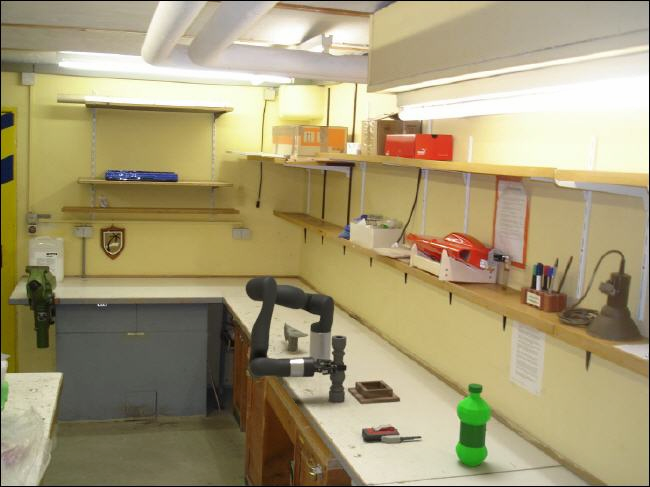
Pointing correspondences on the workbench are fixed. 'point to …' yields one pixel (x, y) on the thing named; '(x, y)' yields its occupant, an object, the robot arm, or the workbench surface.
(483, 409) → the plastic bottle
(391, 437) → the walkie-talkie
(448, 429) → the workbench surface
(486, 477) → the workbench surface
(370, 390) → the walnut socket base
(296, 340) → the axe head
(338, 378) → the candle holder
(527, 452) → the workbench surface
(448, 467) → the workbench surface
